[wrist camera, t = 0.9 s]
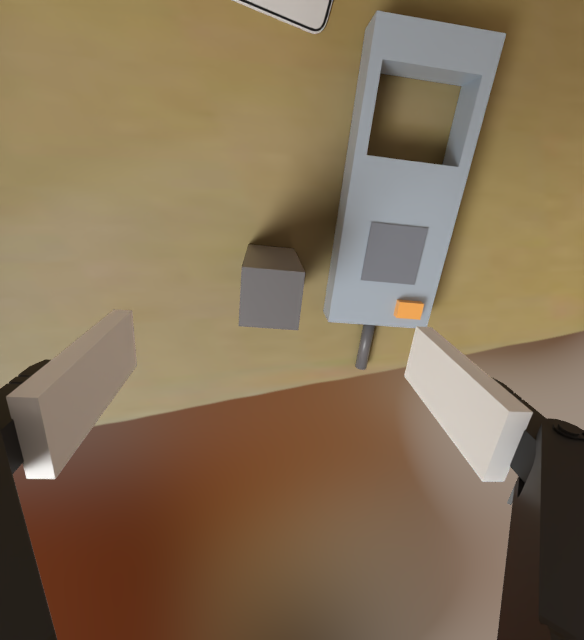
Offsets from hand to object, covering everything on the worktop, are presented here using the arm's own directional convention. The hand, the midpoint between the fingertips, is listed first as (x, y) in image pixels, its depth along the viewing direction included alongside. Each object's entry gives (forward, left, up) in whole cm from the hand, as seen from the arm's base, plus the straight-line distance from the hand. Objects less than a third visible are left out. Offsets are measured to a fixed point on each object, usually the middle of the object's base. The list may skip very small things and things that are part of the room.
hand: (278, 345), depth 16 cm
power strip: (+11, +4, -19) cm, 22 cm away
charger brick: (0, -1, -19) cm, 19 cm away
